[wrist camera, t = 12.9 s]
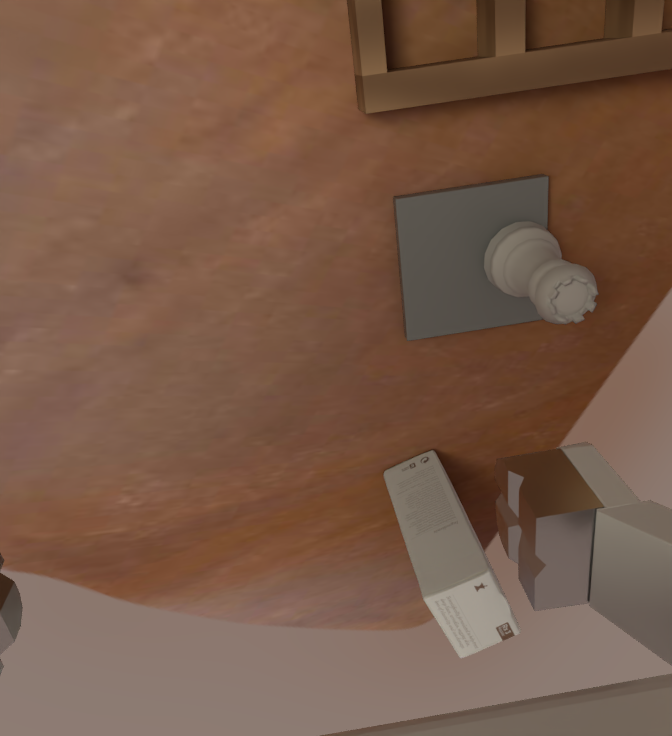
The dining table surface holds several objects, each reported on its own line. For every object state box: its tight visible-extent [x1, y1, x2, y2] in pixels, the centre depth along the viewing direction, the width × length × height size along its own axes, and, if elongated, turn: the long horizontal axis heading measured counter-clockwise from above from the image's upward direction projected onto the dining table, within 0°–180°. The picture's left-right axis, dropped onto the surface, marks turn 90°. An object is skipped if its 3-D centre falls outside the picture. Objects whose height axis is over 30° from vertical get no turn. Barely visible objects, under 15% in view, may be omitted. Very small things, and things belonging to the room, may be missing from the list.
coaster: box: [393, 174, 549, 341], centre depth 39 cm, size 9×9×1 cm
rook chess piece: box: [484, 221, 599, 324], centre depth 35 cm, size 4×4×8 cm
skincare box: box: [384, 450, 521, 658], centre depth 42 cm, size 6×4×12 cm
